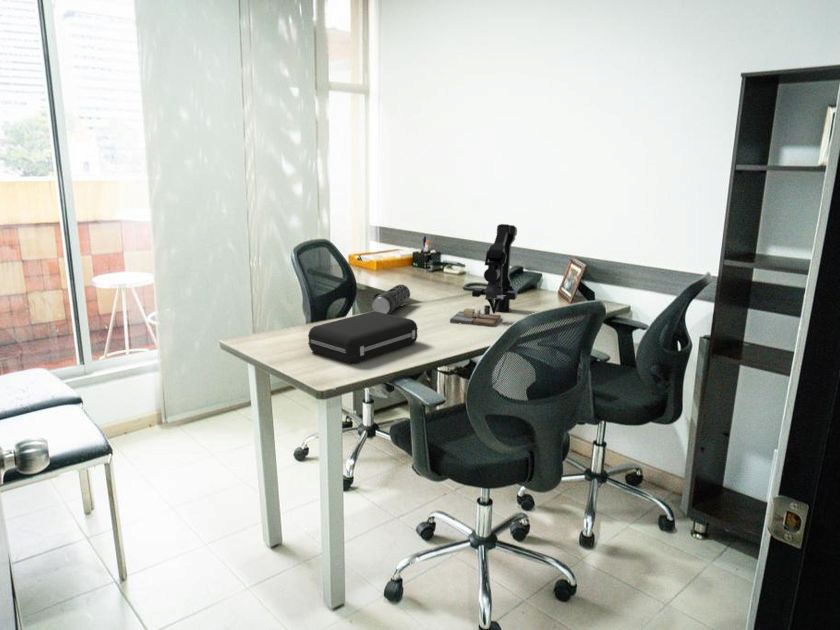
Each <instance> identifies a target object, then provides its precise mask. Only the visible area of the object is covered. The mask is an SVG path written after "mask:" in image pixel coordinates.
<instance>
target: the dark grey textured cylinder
mask: <svg viewBox="0 0 840 630" xmlns="http://www.w3.org/2000/svg"><path fill="white" fill-rule="evenodd" d="M410 297H411V291H410V289H409V287H408V286H407V285H404V284H397V285H395V286H393V287H392V288H390V289H388V290H387V291H385V292H383V293H380V294H378V295H377V296H375V298H374V299H373V301H372V305H371V306H372V311H376V312H381V313H385V314H389V315H391V313H392V312H394V311H395V310H397V309H398V308H399V307H401V306H402V305H403V304H405V303H406V302H408V301H409V300H410Z"/></svg>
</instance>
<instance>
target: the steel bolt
mask: <svg viewBox="0 0 840 630" xmlns="http://www.w3.org/2000/svg"><path fill="white" fill-rule="evenodd" d="M483 311H484V312H480V313H479V317H481V318H489V317H490V313H491V306H490V304H489V305H486V304H485V305H484V310H483ZM473 317H477V311H475V312H473Z"/></svg>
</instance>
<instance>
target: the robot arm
mask: <svg viewBox="0 0 840 630" xmlns="http://www.w3.org/2000/svg"><path fill="white" fill-rule="evenodd" d="M517 228H518V227H517V226H515V225H511V224H507V223H506V224H505V223H500V224H498V225H497V226H496V236H495V239H494V243H492V245H489V248H488V250H487V251H486V255H485V260H484V266H488V267H487V269H486V270H485V271H484V272H483V279H484V280H485V281H487V286H486V289H485V288H480V287H478V288H477V287H476V288H474V289H473V290H472V292H471V297H474V298H480V297H481V296H485V297H484V300H486V301H487V302H488V303H489V306H490V310H491V312H492V314H494V315H496V314H495V313H496V312H501V313H510V312H511V311H512V308H511V305H510V304H511V303H510V302H511V301H514V300H515V301H516V299H517V298H518V291H517V290H514V287H513V282H512V280H511V278H510V267H511V253H512V251H511V250H512V244H513V243H514V242H515V240H516V236H517V234H518V229H517ZM510 300H511V301H510Z"/></svg>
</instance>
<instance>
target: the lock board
mask: <svg viewBox="0 0 840 630" xmlns="http://www.w3.org/2000/svg"><path fill="white" fill-rule="evenodd" d="M463 314H464V311H461V310H460V311H458V312H457V313H456V314H455V315H453V316H451V317H450V319H449V323H450V322H452V323H451V324H459V323H461V324H462V325H469V324H470V326H471V325H472V326H479V327H480V326H481V327H490V328H493V327H495V325H496V324H497V323H498V322H499V321H500V319H501V317H502V315H501V314H494V313H491V314H490V317H489V318H481V317H479V318H478V319H477V317H473V318H467V317H463Z"/></svg>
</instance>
